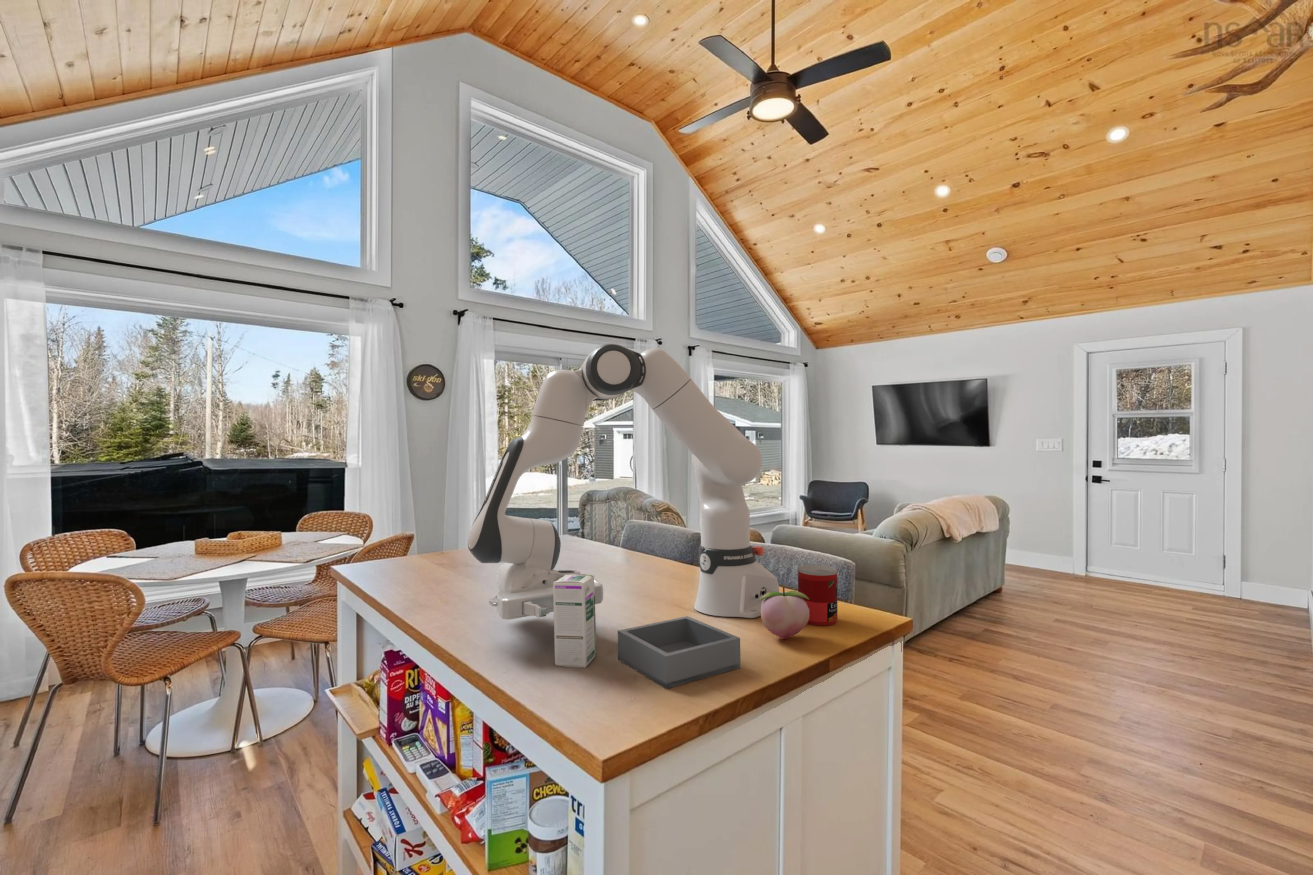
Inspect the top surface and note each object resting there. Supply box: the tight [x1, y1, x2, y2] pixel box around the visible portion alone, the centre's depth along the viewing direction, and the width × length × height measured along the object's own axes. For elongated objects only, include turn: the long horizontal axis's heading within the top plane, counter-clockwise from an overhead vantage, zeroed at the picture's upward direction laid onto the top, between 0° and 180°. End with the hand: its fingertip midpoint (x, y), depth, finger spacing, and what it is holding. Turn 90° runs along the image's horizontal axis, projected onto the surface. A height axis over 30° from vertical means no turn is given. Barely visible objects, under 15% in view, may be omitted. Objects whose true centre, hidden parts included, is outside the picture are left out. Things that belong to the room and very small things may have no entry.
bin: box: [617, 615, 741, 690], centre depth 102 cm, size 15×15×5 cm
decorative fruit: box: [759, 586, 809, 640], centre depth 114 cm, size 9×8×10 cm
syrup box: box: [553, 573, 597, 669], centre depth 103 cm, size 6×6×14 cm
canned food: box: [797, 564, 839, 627], centre depth 125 cm, size 8×8×11 cm
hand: (567, 607), depth 106 cm, fingers open, 8 cm apart
